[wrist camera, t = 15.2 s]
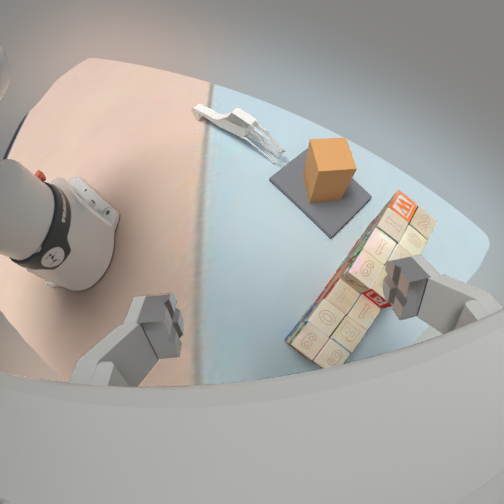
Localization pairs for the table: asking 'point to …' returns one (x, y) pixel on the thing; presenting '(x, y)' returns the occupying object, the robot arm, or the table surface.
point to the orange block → (328, 169)
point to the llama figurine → (237, 125)
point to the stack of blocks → (360, 284)
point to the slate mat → (321, 213)
